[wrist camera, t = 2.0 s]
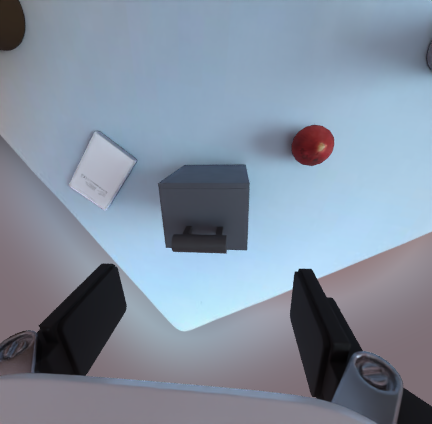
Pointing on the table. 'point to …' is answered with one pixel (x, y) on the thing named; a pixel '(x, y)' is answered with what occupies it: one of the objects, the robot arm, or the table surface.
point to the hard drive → (102, 170)
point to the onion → (312, 145)
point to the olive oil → (11, 24)
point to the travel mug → (430, 56)
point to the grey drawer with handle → (205, 208)
